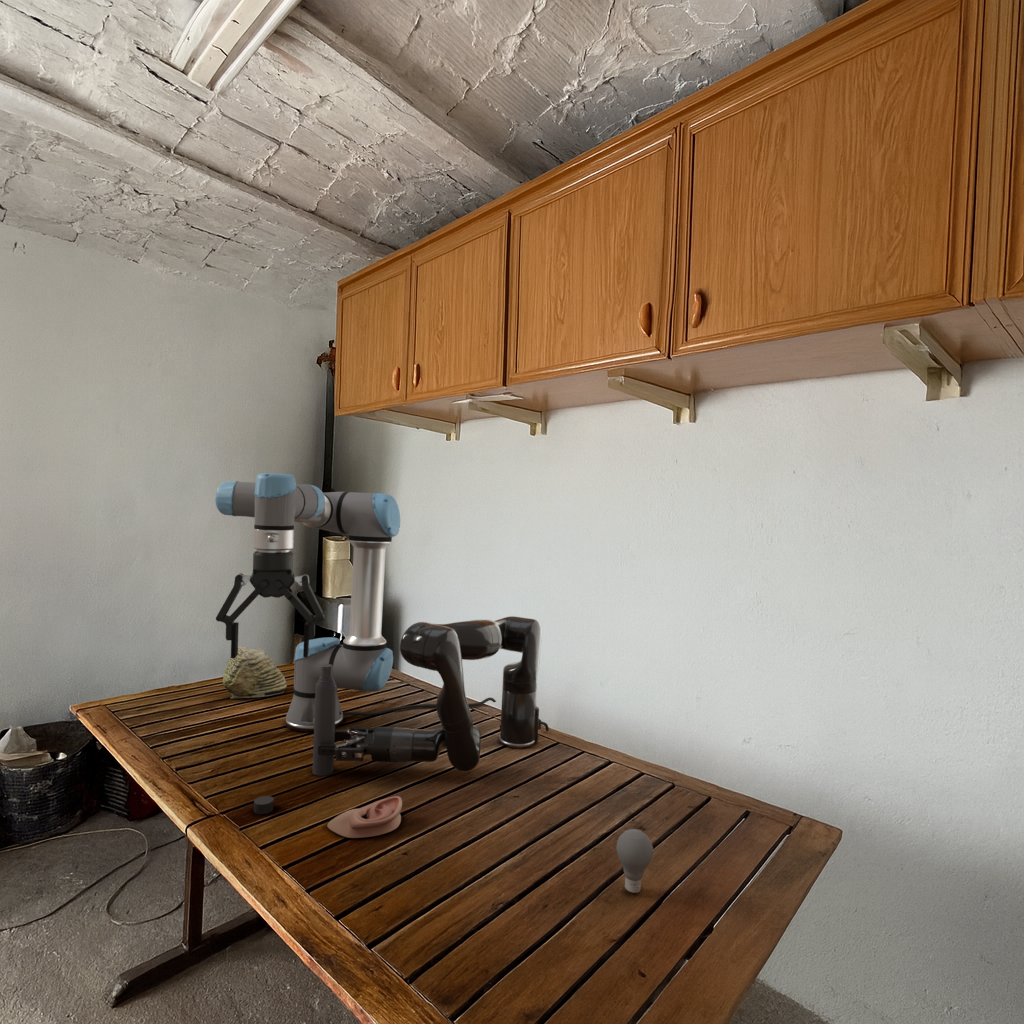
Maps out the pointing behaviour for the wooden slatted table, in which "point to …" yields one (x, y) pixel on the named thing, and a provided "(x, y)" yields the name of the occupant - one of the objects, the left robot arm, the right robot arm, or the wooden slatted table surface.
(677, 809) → the wooden slatted table surface
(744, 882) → the wooden slatted table surface
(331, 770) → the bottle
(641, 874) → the light bulb
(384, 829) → the anatomical model
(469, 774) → the wooden slatted table surface
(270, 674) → the fossil
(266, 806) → the cap
